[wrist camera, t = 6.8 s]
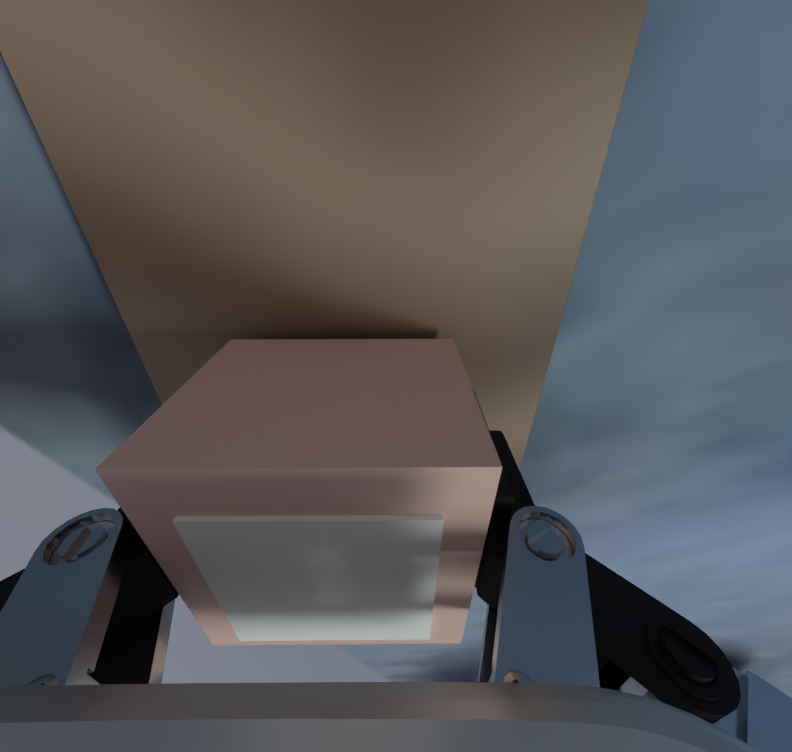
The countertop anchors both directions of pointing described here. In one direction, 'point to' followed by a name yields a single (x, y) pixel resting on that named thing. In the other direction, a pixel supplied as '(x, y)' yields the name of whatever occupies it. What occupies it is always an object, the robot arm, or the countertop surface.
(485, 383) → the board
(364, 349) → the stub
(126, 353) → the countertop surface
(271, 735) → the robot arm
